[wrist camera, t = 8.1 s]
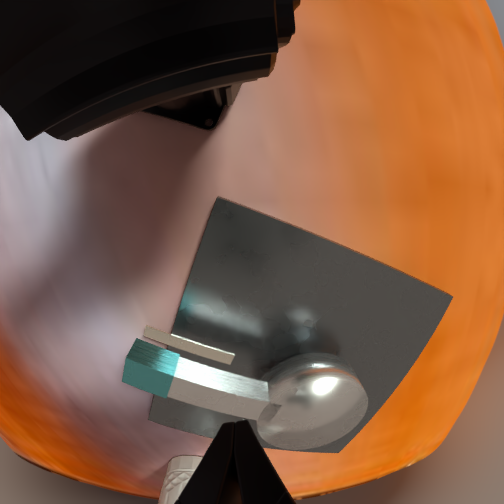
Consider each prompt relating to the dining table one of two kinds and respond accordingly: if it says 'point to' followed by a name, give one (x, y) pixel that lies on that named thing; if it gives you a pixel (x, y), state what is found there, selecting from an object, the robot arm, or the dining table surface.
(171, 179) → the dining table surface
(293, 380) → the teal-tipped lever
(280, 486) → the robot arm
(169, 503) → the white cup
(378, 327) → the lock base
